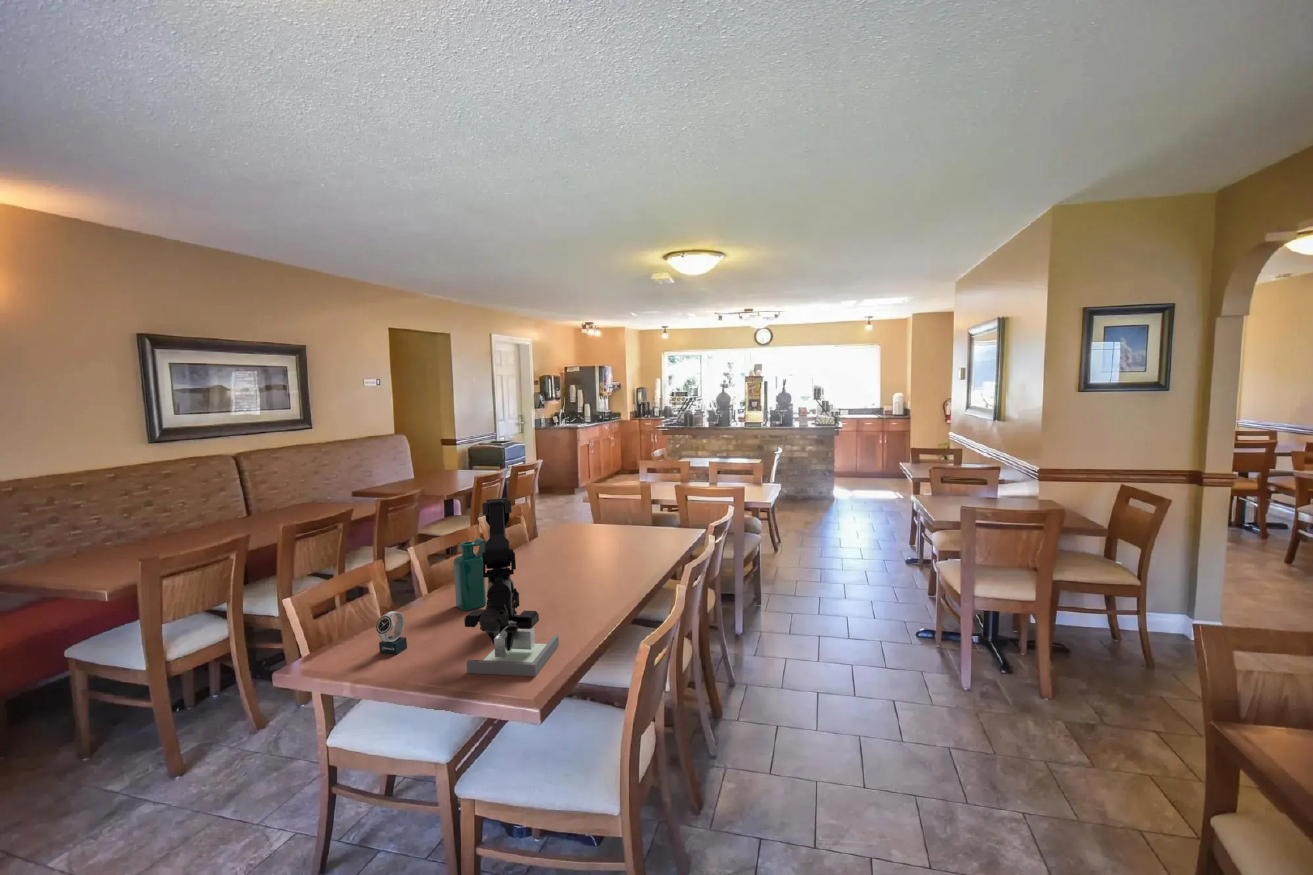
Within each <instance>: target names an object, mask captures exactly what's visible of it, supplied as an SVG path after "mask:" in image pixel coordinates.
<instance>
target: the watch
mask: <svg viewBox="0 0 1313 875" xmlns="http://www.w3.org/2000/svg"><path fill="white" fill-rule="evenodd" d="M395 616H396V622H395V621H394V620H395ZM404 626H405V617H404V614H402V612H400V611H392V610H391V611H388V612H386V613H385V614H384V615H382V616H381V617H380V618H379V619H378V620H377V622H376V625H375V629H376V632H377V635H378V637H379V639H380V640H381V641H379V642H378V647H379V654H382V655H389V656H390V655H393V656H397V655H399V654H401V653H402V652H404V651H405V650H407V649H408V642H407V641H408V640H407V639H408V638H407V637H403V636H401V635H403V634H402V633H403V631H404ZM393 629H394V630H393ZM392 630H393V635H391V636H390V634H391V632H392Z"/></svg>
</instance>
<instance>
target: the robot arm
mask: <svg viewBox="0 0 1313 875" xmlns="http://www.w3.org/2000/svg"><path fill="white" fill-rule="evenodd" d="M481 504H482V505H481V506H482V510H481V512H482V516H485V522H486V523H487V525H488V526H489V538H488V540H486V543H485V552H483V553H482V555H483V578H487V583H488V585H487V590H486V605H485V606H486V607H485V608H484V609H481V608H480V609H479V608H476V609H472V610H470V612H469V613H468V614H467V615H465V616H464V620H463V624H464V627H465V628H476V627H477V625H479V630H480V631H482V632H486V633H487V635H488V636H489V638H490V640H491V643H492V644H493V645H494V638H495V637H496V636H497V635H498V634H499V633H500V632H501V631H502V630H503V629H504V628H505V627H507V626H508V627H507V628H506V629H505V631H506V632H507V647H508V651H510V650H511V647H512V644H513V641H514V638H515V635H516V633H517V630H518V629H531V628H532V627H535V625H536V624H537V623H538V622H539V620H540V615H539V613H538V612H537V611H536V610H523V611H522V612H521V613H520V614H518V612H517V610H516V609H518V607H520V592H518V590H517V588H516V587H515V586H514V581H513V579H512V578H511V575H514V574H515V573H514V572H515V571H514V570H517V565H516V564H517V563H516V553H515V551H514V549H513V548H510V547H511V546H510V545H511V544H510V540H509V539H508V538H507V537H506V526H507V524H508V523H509V522H510V519H511V518H510V514H511V513H513V511H512V510H513V509H512V508H513V507H512V500H508V497H501V498H499V497H498V498H489V499H486V502H482V503H481ZM486 569H487V570H486Z"/></svg>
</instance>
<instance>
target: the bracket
mask: <svg viewBox="0 0 1313 875" xmlns="http://www.w3.org/2000/svg"><path fill="white" fill-rule="evenodd" d="M507 627H508V626H507ZM507 627H505V628H504V629H503V630H502V631H500V633H499V634H498V635H497V636H496V637H495V638H494V644H493V648H494V649H495V657H504V658H506V657H507V656H508V655H509V654H510V652H511V651H512V650H513V649H526V650H531V649H532V648H533V647H534V646H535V644H536V634H535V632H536V631H535V626H533V627H532V628H531V629H518V630H517V633H516V635H515V638H514V641H513V644H512V647H511V650H510V651H508V647H507V632H506V631H505V629H506V628H507Z"/></svg>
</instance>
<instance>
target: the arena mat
mask: <svg viewBox="0 0 1313 875" xmlns="http://www.w3.org/2000/svg"><path fill="white" fill-rule="evenodd" d="M547 644H548V643H535V646H534V647H533V648H532V649H531V650H526V649H513V650H512V651H511V652H510V654H509V655H508V656H507V657H506V658H504V657H495V648H494V649H493V650H492V651H491V652H490V653H489V654H488V655H487V656H486V657H485V658H483V660H490V661H513V662H533V661H534V660H535V659H536V657H537V656H538V655H539V654H540V652H541V651H542V650H543V649H544V647H545V646H546V645H547Z"/></svg>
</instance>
